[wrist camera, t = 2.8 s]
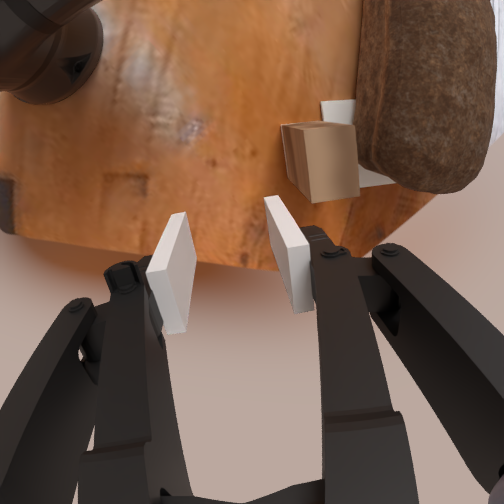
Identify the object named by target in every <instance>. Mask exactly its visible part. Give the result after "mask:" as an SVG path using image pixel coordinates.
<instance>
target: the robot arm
mask: <svg viewBox="0 0 504 504" xmlns="http://www.w3.org/2000/svg"><path fill="white" fill-rule="evenodd" d="M100 1H102V0H0V92H1V91H8V92H9V93H11V94H13V95H14V96H15V97H16V98H17V99H19V100H21V101H23V102H25V103H29V104H35V105H39V104H51V103H55V102H58V101H61V100H63V99H65V98H67V97H68V96H70V95H71V94H73V93H74V92H75V91H77V90H78V89H79V88H80V87H81V86H82V85H83V84H84V83H85V81H86V80H87V79H88V78H89V76H90V75H91V73H92V72H93V70H94V68H95V66H96V64H97V62H98V60H99V57H100V54H101V50H102V45H103V29H102V24H101V21H100V19H99V17H98V15H97V14H96V13H95V11H94V10H93V9H91V7H92V6H94V5H95V4H97V3H99V2H100ZM264 203H265V210H266V217H267V223H268V230H269V237H270V244H271V248H272V250H273V253H274V256H275V259H276V262H277V265H278V268H279V270H280V273H281V276H282V279H283V282H284V285H285V288H286V291H287V293H288V296H289V299H290V302H291V305H292V308H293V311H294V313H295V314H297V313H302V312H308V311H313V310H314V301H315V303H316V309H317V328H318V341H319V357H320V358H319V359H320V381H321V405H322V406H321V407H322V408H321V410H322V479H320V480H316V481H311V482H307V483H302V484H297V485H293V486H290V487H288V488H285V489H283V490H280V491H278V492H275V493H272V494H270V495H267V496H264V497H262V498H259V499H256V500H253V501H250V502H247V503H232V502H225V501H218V500H212V499H206V498H201V497H195V496H194V495H193V493H192V490H191V487H190V482H189V478H188V473H187V469H186V464H185V460H184V455H183V450H182V445H181V440H180V435H179V430H178V424H177V418H176V412H175V406H174V400H173V394H172V388H171V381H170V374H169V367H168V360H167V352H166V344H165V339H164V337H163V334H162V332H161V330H162V326H163V324H164V327H165V330H166V332H167V335H170V334H177V333H185V332H186V330H187V322H188V315H189V307H190V300H191V293H192V286H193V280H194V273H195V266H196V260H197V257H196V253H195V249H194V245H193V241H192V236H191V232H190V228H189V224H188V219H187V215H186V212H181V213H176V214H172V215H171V217H170V219H169V221H168V224H167V226H166V228H165V230H164V232H163V234H162V237H161V239H160V241H159V243H158V245H157V248H156V250H155V252H154V254H153V255H149V256H144V257H143V258H142V259H141V260H140V261H138V262H135V261H124V262H120V263H117V264H115V265H113V266H111V267H109V268H108V269H107V270H106V271H105V272H104V277H105V280H106V282H107V285H108V287H109V290H110V293H111V296H110V301H109V302H107V303H104V304H101V305H98V306H95V307H94V305H93V303H92V300H91V299H90V298H77V299H75V300H72V301H71V302H70V303H69V304H67V305H66V306H65V307H64V308H63V309H62V311H61V312H60V314H59V315H58V316H57V318H56V320H55V321H54V322H53V324H52V325H51V327H50V328H49V330H48V331H47V333H46V334H45V336H44V337H43V339H42V340H41V342H40V343H39V345H38V347H37V348H36V350H35V351H34V353H33V354H32V356H31V358H30V359H29V361H28V362H27V364H26V366H25V367H24V369H23V371H22V372H21V374H20V376H19V377H18V379H17V381H16V383H15V384H14V386H13V388H12V389H11V391H10V393H9V395H8V397H7V398H6V400H5V402H4V404H3V406H2V407H1V410H0V504H72V502H73V498H74V494H75V490H76V486H77V483H78V504H419V499H418V493H417V486H416V480H415V474H414V468H413V463H412V457H411V451H410V446H409V441H408V436H407V432H406V427H405V423H404V420H403V417H402V414H401V413H400V411H396V412H395V411H394V410H393V407H392V404H391V399H390V394H389V390H388V385H387V381H386V377H385V373H384V369H383V364H382V361H381V356H380V353H379V349H378V345H377V341H376V337H375V333H374V330H373V326H372V323H371V319H370V315H371V318H372V319H373V321H374V322H375V323H376V325H377V326H378V328H379V329H380V331H381V332H382V333H383V335H384V336H385V338H386V339H387V341H388V342H389V344H390V345H391V346H392V348H393V349H394V351H395V352H396V354H397V355H398V356H399V358H400V360H401V361H402V363H403V364H404V366H405V367H406V368H407V370H408V372H409V373H410V375H411V376H412V378H413V379H414V381H415V382H416V384H417V385H418V387H419V388H420V390H421V391H422V393H423V395H424V396H425V398H426V399H427V401H428V403H429V404H430V406H431V407H432V409H433V410H434V412H435V414H436V415H437V417H438V418H439V420H440V422H441V423H442V425H443V427H444V428H445V430H446V431H447V433H448V435H449V436H450V438H451V440H452V441H453V443H454V445H455V446H456V448H457V450H458V452H459V453H460V455H461V457H462V458H463V460H464V461H465V464H466V465H467V467H468V468H469V470H470V471H471V473H472V474H473V476H474V477H475V479H476V480H477V481H478V482H479V484H480V485H481V486H482V487H483V488H484V489H485V491H486V492H488V493H489V494H490V496H489V502H488V504H504V336H503V334H502V333H501V332H500V331H499V330H498V329H497V328H495V327H494V326H493V325H492V324H491V323H490V322H489V321H488V320H487V319H486V318H485V317H484V316H483V315H482V314H481V313H480V312H479V311H478V310H477V309H475V308H474V307H473V306H472V305H471V304H470V303H469V302H468V301H467V300H466V299H465V298H464V297H462V296H461V295H460V294H459V293H458V292H457V291H456V290H455V289H453V288H452V287H451V286H450V285H449V284H448V283H447V282H445V281H444V280H443V279H442V278H441V277H440V276H439V275H437V274H436V273H435V272H434V271H433V270H432V269H430V268H429V267H428V266H427V265H425V264H424V263H423V262H422V261H421V260H420V259H418V258H417V257H416V256H415V255H414V254H412V253H411V252H410V251H408V250H407V249H406V248H404V247H403V246H401V245H397V244H394V243H386V244H381V245H378V246H376V247H375V248H373V250H372V257H371V258H356V257H351V254H350V251H349V250H348V249H347V248H345V247H342V246H335V245H334V243H333V242H332V241H331V239H330V238H329V237H328V236H327V234H325V232H324V231H323V229H322V228H319V227H317V226H315V225H313V226H307V227H301V228H299V227H298V225H297V224H296V222H295V221H294V219H293V218H292V216H291V214H290V213H289V211H288V210H287V208H286V207H285V205H284V204H283V202H282V200H281V199H280V197H279V196H278V195H276V196H270V197H264ZM313 299H314V301H313ZM369 312H370V315H369ZM79 349H80V351H81V353H82V355H83V358H82V360H81V361H80V360H79V356H78V350H79ZM94 425H95V433H94V447H93V450H91V451H87V448H88V444H89V441H90V438H91V435H92V431H93V428H94Z"/></svg>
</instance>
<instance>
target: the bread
mask: <svg viewBox="0 0 504 504" xmlns="http://www.w3.org/2000/svg"><path fill="white" fill-rule="evenodd" d="M496 72H497V41H496V33H495V15H494V12H493V9H492V6H491V3H490V0H363V18H362V29H361V44H360V54H359V67H358V78H357V91H356V106H355V113H354V119H353V125H355V133H356V144H357V155H358V164H359V165H361V166H362V167H363V168H364V169H366V170H369V171H372V172H375V173H378V174H381V175H384V176H387V177H389V178H390V179H392V180H393V181H394V182H396V183H398V184H399V185H401V186H403V187H405V188H408V189H411V190H414V191H421V192H430V193H433V194H448V193H454V192H457V191H460V190H462V189H463V188H465V187H466V186H467V185H468V184H469V183H470V182H472V181H473V180H474V179H475V178H476V177H477V176H478V174H479V172H480V170H481V169H482V167H483V164H484V160H485V157H486V154H487V150H488V146H489V142H490V138H491V132H492V126H493V119H494V109H495V83H496Z"/></svg>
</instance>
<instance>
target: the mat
mask: <svg viewBox="0 0 504 504" xmlns="http://www.w3.org/2000/svg"><path fill="white" fill-rule="evenodd" d="M320 104H321V112H322V120H323V121H326V122H334V123H342V124H349V125H353V119H354V113H355V106H356V99H355V100H336V101H321V102H320ZM358 169H359V185H360V188H362V187H370V186H377V185H385V184H393V183H396V182H394V181H393V180H392V179H390V178H389V177H387V176H384V175H381V174H378V173H375V172H372V171H369V170H366V169H364V168H363V167H362V166H361V165H359V164H358Z"/></svg>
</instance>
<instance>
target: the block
mask: <svg viewBox="0 0 504 504" xmlns="http://www.w3.org/2000/svg"><path fill="white" fill-rule="evenodd" d="M281 132H282V139H283V146H284V153H285V161H286V168H287V176H288V179H289V180H290V181H291V182H292V183H293V184H294V185H295V186H296V187H297V188H298V189H299V190H300V192H301V193H302V194H303V195H304V196H305V197H306V198H307V199H308V200H309V201H310V202H311V203H318V202H325V201H331V200H338V199H345V198H351V197H358V196H360V185H359V169H358V155H357V144H356V133H355V125H349V124H342V123H334V122H326V121H311V122H302V123H293V124H285V125H281Z"/></svg>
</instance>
